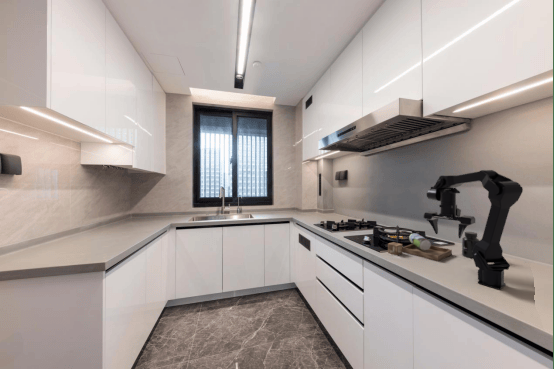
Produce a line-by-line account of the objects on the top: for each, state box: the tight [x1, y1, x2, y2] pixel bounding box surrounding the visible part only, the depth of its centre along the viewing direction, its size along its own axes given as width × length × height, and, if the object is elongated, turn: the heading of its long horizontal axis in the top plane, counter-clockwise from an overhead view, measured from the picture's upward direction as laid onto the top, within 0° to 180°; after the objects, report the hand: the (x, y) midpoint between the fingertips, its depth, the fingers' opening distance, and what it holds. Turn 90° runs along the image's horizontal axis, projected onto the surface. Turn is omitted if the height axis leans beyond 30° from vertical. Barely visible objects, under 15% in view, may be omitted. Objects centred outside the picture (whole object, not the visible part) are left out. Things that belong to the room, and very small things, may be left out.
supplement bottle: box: [461, 231, 480, 259], centre depth 118 cm, size 7×7×12 cm
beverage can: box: [408, 232, 432, 251], centre depth 128 cm, size 6×7×12 cm
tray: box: [402, 243, 453, 262], centre depth 124 cm, size 17×15×2 cm
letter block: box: [387, 241, 403, 256], centre depth 126 cm, size 5×5×5 cm
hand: (447, 236), depth 109 cm, fingers open, 9 cm apart
